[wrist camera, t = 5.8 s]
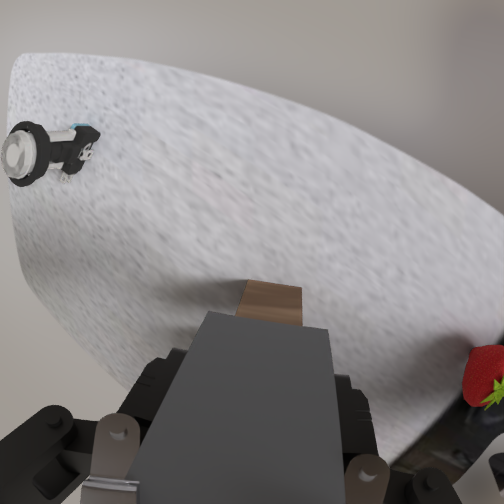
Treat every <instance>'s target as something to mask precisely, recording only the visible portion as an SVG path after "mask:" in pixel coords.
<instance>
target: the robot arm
mask: <svg viewBox="0 0 504 504" xmlns="http://www.w3.org/2000/svg"><path fill="white" fill-rule="evenodd" d="M187 352H188V351H187V350H182V349H178V348H172V350H171V351H170V353H169V355H168V357H167V358H166V359H162V358H158V357H157V358H156V359H154V360H153V361H151V362H150V363H148V364H147V365H146V367H145V368H144V370H143V372H142V373H141V376H139V378H138V379H137V381H136V384H134V386H133V387H132V389H131V391H130V392H129V394H128V395H127V397H126V399H125V400H124V402H123V403H122V405H121V407H120V408H119V410H118V411H117V412H116V413H112V414H109V415H106V416H104V417H103V418H102V419H100V421H89V420H81V419H73V416H72V414H71V413H70V411H69V410H67V409H66V408H65V407H62V406H59V405H51V406H47V407H44V408H43V409H41V410H40V411H38V412H37V413H36V414H34V415H33V416H32V417H31V418H29V419H28V420H27V421H25V422H24V423H23V424H22V425H20V426H19V427H18V428H16V429H15V430H14V431H12V432H11V433H10V434H9V435H7V436H6V437H4V439H2V440H1V441H0V504H61V503H62V502H63V501H64V500H65V499H66V498H67V497H68V496H69V495H70V494H71V493H72V492H73V491H74V490H75V489H76V488H77V487H78V486H79V485H80V484H81V483H82V482H83V481H84V482H83V485H82V488H81V500H80V504H140V482H139V481H131V480H124V479H125V477H126V475H127V473H128V471H129V469H130V466H131V464H132V462H133V460H134V458H135V456H136V454H137V452H138V450H139V448H140V446H141V444H142V442H143V440H144V438H145V436H146V434H147V432H148V430H149V428H150V426H151V424H152V422H153V420H154V418H155V416H156V414H157V412H158V410H159V408H160V406H161V404H162V402H163V400H164V398H165V396H166V394H167V392H168V390H169V388H170V386H171V384H172V382H173V380H174V378H175V376H176V374H177V372H178V370H179V368H180V366H181V364H182V362H183V360H184V358H185V356H186V354H187ZM334 378H335V386H336V394H337V403H338V412H339V422H340V432H341V443H342V455H343V469H344V484H345V503H346V504H462V503H461V501H460V499H459V497H458V495H457V493H456V492H455V490H454V488H453V487H452V484H451V483H450V481H449V479H448V477H447V476H446V475H445V473H444V472H442V471H441V470H439V469H437V468H432V467H429V468H424V469H421V470H420V471H418V472H417V473H416V474H415V475H413V474H408V473H403V472H399V471H395V470H392V469H390V468H389V466H388V464H387V463H386V461H385V460H383V459H382V458H381V457H379V454H378V450H377V444H376V439H375V433H374V428H373V423H372V422H371V420H372V418H371V413H370V408H369V404H368V399H367V398H366V397H365V395H364V394H363V393H362V391H361V390H357V389H352V387H351V381H350V377H349V375H339V374H334ZM89 475H90V477H89V479H88V480H85V479H86V478H87V477H88V476H89Z"/></svg>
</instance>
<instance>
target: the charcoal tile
mask: <svg viewBox="0 0 504 504" xmlns="http://www.w3.org/2000/svg"><path fill="white" fill-rule="evenodd" d="M124 480H131V481H139V482H140V504H346V503H345V484H344V469H343V455H342V443H341V432H340V422H339V412H338V403H337V394H336V386H335V378H334V370H333V362H332V355H331V348H330V341H329V334H328V330H327V329H319V328H311V327H304V326H297V325H290V324H283V323H276V322H269V321H263V320H257V319H250V318H244V317H239V316H233V315H227V314H221V313H216V312H210V311H208V313H207V315H206V317H205V319H204V321H203V322H202V324H201V326H200V328H199V330H198V332H197V334H196V336H195V338H194V340H193V342H192V344H191V346H190V348H189V350H188V352H187V354H186V356H185V358H184V360H183V362H182V364H181V366H180V368H179V370H178V372H177V374H176V376H175V378H174V380H173V382H172V384H171V386H170V388H169V390H168V392H167V394H166V396H165V398H164V400H163V402H162V404H161V406H160V408H159V410H158V412H157V414H156V416H155V418H154V420H153V422H152V424H151V426H150V428H149V430H148V432H147V434H146V436H145V438H144V440H143V442H142V444H141V446H140V448H139V450H138V452H137V454H136V456H135V458H134V460H133V462H132V464H131V466H130V469H129V471H128V473H127V475H126V477H125V479H124Z"/></svg>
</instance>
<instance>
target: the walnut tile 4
mask: <svg viewBox="0 0 504 504" xmlns="http://www.w3.org/2000/svg"><path fill="white" fill-rule="evenodd" d="M235 316H239V317H244V318H250V319H257V320H263V321H269V322H276V323H283V324H290V325H297V326H302V288H301V287H294V286H288V285H281V284H275V283H268V282H262V281H255V280H249V279H248V281H247V284H246V287H245V290H244V292H243V295H242V298H241V301H240V303H239V306H238V309H237V312H236V314H235Z"/></svg>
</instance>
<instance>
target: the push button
mask: <svg viewBox="0 0 504 504" xmlns="http://www.w3.org/2000/svg"><path fill="white" fill-rule="evenodd" d="M28 131H30V132H28ZM99 137H100V133H99V132H98V131H97V130H95V129H94V128H92V127H91V126H89V125H88V124H73V125H72V126H71V128H70V129H68V131H45V130H44V128H43V127H42V125H39V124H34V123H33V122H30V121H23V122H20V123H18V124H17V125H16V126H14V128H13V129H12V130H11V132H10V134H9V136H8V137H7V138H6V140H5V142H4V144H3V147H2V153H1V160H2V166H3V169H4V172H5V173H6V175H7V176H9V178H10V180H11V181H12V182H13V183H14V184H15V185H17V186H19V187H24V186H28V185H30V184H32V183H33V182H34V181H35V180H36V179H38V178H40V177H42V176H43V175H44V174H45V172H46V170H48V169H53V168H57V169H61V170H62V171H63V173H62V176H61V178H60V182H62V183H63V184H65V182H66V181H67V182H68V183H70V182H71V179H72V177H73V175H75V174H76V173H77V172H78V171H80V170H81V169H82V166H83V164H84V162H85V160H89V159H90V158H91V157H92V154H93V152H94V150H90V149H91V147H92V145H93V142H96V141H97V140H98V139H99ZM89 153H91V154H90V156H89V157H88V154H89ZM28 174H30V175H29V176H28ZM68 176H70V179H68ZM63 177H64V178H65V180H63V179H62V178H63Z"/></svg>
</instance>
